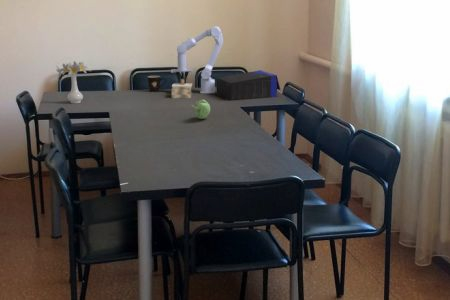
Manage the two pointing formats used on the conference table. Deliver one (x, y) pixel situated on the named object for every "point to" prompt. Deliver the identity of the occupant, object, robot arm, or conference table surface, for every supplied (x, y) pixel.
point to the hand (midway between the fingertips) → (182, 83)
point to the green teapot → (202, 109)
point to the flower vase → (73, 80)
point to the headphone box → (248, 86)
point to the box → (181, 92)
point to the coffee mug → (154, 83)
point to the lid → (182, 84)
